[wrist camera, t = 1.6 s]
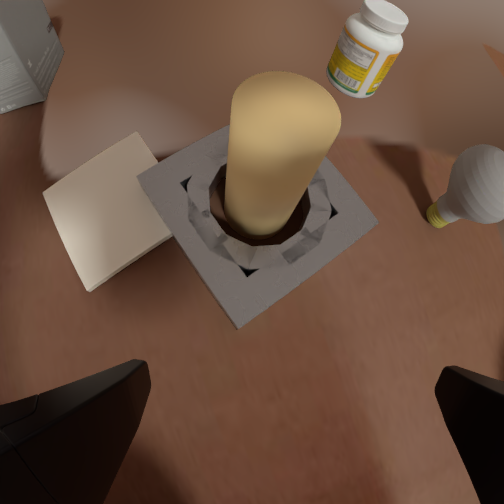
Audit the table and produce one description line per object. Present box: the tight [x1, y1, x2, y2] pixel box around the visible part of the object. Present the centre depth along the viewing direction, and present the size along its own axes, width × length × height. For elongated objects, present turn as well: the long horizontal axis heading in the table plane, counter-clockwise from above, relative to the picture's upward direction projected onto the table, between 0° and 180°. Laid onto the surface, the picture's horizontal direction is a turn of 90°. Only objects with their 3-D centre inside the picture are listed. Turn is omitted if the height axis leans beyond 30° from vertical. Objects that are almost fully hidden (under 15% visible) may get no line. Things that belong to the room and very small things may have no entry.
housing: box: [136, 124, 379, 330], centre depth 22 cm, size 12×12×2 cm
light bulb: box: [427, 145, 504, 228], centre depth 20 cm, size 5×6×10 cm
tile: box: [43, 131, 172, 292], centre depth 21 cm, size 9×9×1 cm
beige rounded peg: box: [224, 71, 341, 240], centre depth 18 cm, size 5×5×11 cm
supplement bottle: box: [326, 0, 408, 98], centre depth 23 cm, size 5×5×10 cm
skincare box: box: [0, 0, 64, 114], centre depth 17 cm, size 8×7×16 cm
